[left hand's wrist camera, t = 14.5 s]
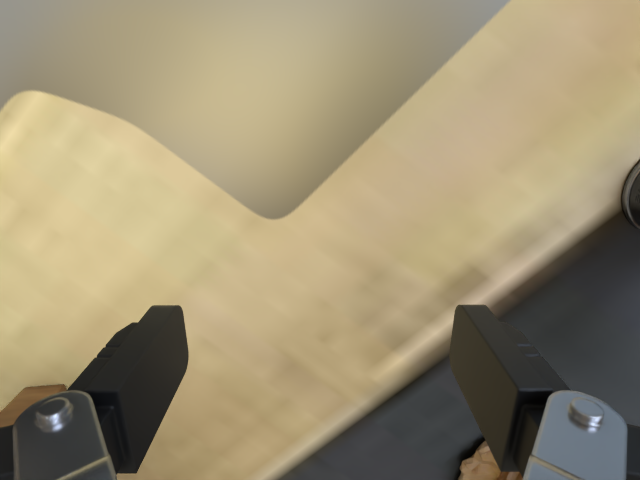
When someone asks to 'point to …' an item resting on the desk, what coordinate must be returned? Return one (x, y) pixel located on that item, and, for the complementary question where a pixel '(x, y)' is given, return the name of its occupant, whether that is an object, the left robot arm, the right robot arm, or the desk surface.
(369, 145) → the desk surface
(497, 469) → the sculpture
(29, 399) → the bar
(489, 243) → the desk surface
